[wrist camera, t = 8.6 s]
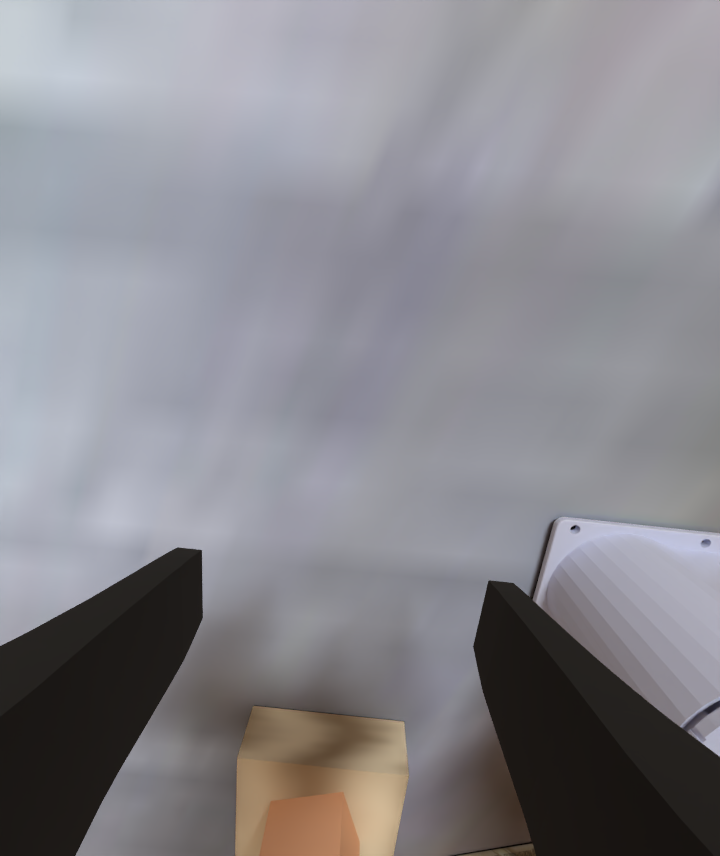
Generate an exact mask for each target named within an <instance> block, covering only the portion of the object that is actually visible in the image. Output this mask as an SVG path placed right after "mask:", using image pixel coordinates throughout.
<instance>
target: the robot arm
mask: <svg viewBox="0 0 720 856" xmlns="http://www.w3.org/2000/svg"><path fill="white" fill-rule="evenodd" d="M574 525H576V527H575V529H573V530H570V529H571V527H572V526H574ZM702 541H703V542H702ZM202 618H203V608H202V550H196V549H186V548H176V549H174V550H172V551H170V552H168V553H166V554H165V555H163V556H161V557H160V558H158V559H156V560H154V561H153V562H151V563H149V564H148V565H146V566H144V567H143V568H141V569H139V570H138V571H136V572H134V573H133V574H131V575H129V576H128V577H126V578H124V579H122V580H121V581H119V582H117V583H116V584H114V585H112V586H110V587H109V588H107V589H105V590H104V591H102V592H100V593H99V594H97V595H95V596H93V597H92V598H90V599H88V600H86V601H85V602H83V603H81V604H79V605H77V606H75V607H74V608H72V609H70V610H68V611H66V612H64V613H62V614H61V615H59V616H57V617H55V618H53V619H51V620H50V621H48V622H46V623H44V624H42V625H40V626H39V627H37V628H35V629H33V630H31V631H29V632H27V633H25V634H23V635H22V636H20V637H18V638H16V639H14V640H12V641H10V642H8V643H6V644H4V645H2V646H0V856H75V855H76V853H77V851H78V849H79V847H80V845H81V843H82V841H83V839H84V837H85V835H86V833H87V831H88V829H89V827H90V825H91V823H92V821H93V819H94V817H95V815H96V813H97V811H98V809H99V807H100V805H101V803H102V801H103V799H104V797H105V795H106V794H107V792H108V790H109V788H110V786H111V785H112V783H113V781H114V779H115V777H116V775H117V774H118V772H119V770H120V768H121V767H122V765H123V763H124V762H125V760H126V758H127V757H128V755H129V753H130V752H131V750H132V748H133V746H134V745H135V743H136V741H137V740H138V738H139V736H140V735H141V733H142V731H143V729H144V728H145V726H146V724H147V723H148V721H149V719H150V718H151V716H152V714H153V712H154V711H155V709H156V707H157V706H158V704H159V702H160V701H161V699H162V697H163V695H164V694H165V692H166V690H167V689H168V687H169V685H170V683H171V682H172V680H173V678H174V676H175V675H176V673H177V671H178V670H179V668H180V666H181V664H182V662H183V661H184V659H185V656H186V654H187V652H188V650H189V648H190V646H191V643H192V641H193V639H194V637H195V634H196V632H197V630H198V627H199V625H200V623H201V621H202ZM473 647H474V652H475V657H476V662H477V667H478V672H479V676H480V680H481V685H482V689H483V693H484V696H485V699H486V703H487V706H488V709H489V712H490V715H491V718H492V721H493V724H494V727H495V730H496V733H497V736H498V739H499V742H500V745H501V748H502V751H503V754H504V757H505V760H506V763H507V766H508V769H509V772H510V775H511V778H512V781H513V784H514V787H515V790H516V793H517V796H518V799H519V802H520V805H521V808H522V811H523V813H524V817H525V820H526V823H527V826H528V830H529V833H530V836H531V840H532V843H533V846H534V850H535V854H536V856H720V533H711V532H702V531H693V530H683V529H674V528H664V527H655V526H646V525H636V524H627V523H617V522H608V521H599V520H589V519H580V518H571V517H560V518H558V519H557V520H556V521H555V522H554V524H553V528H552V531H551V535H550V539H549V542H548V546H547V549H546V553H545V557H544V560H543V564H542V568H541V571H540V575H539V579H538V582H537V586H536V590H535V593H534V597H533V600H532V599H531V598H530V597H529V596H527V595H526V594H525V593H524V592H523V591H522V590H521V589H520V588H518V587H517V586H516V585H515V584H514V583H508V582H498V581H488V585H487V590H486V594H485V598H484V603H483V607H482V611H481V616H480V620H479V624H478V629H477V633H476V637H475V641H474V646H473Z"/></svg>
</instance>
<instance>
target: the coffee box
mask: <svg viewBox="0 0 720 856" xmlns="http://www.w3.org/2000/svg"><path fill="white" fill-rule="evenodd" d="M458 856H536V854H535V850H534V846H533V843H531V844H525V845H519V846H513V847H507V848H500V849H494V850H488V851H482V852H476V853H470V854H463V855H458Z"/></svg>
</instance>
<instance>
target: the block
mask: <svg viewBox="0 0 720 856" xmlns="http://www.w3.org/2000/svg"><path fill="white" fill-rule="evenodd" d="M259 856H360V841H359V838H358V835H357V832H356V829H355V826H354V823H353V820H352V817H351V814H350V811H349V808H348V805H347V802H346V799H345V796H344V793H343V792H338V793H330V794H322V795H314V796H306V797H298V798H291V799H283V800H275V801H271V802H270V807H269V811H268V816H267V821H266V826H265V831H264V835H263V840H262V845H261V850H260V854H259Z"/></svg>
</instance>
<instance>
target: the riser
mask: <svg viewBox="0 0 720 856" xmlns="http://www.w3.org/2000/svg"><path fill="white" fill-rule="evenodd" d="M408 778H409V771H408V760H407V749H406V738H405V726H404V721H394V720H384V719H375V718H365V717H356V716H346V715H336V714H327V713H317V712H308V711H298V710H289V709H279V708H269V707H260V706H253V708H252V712H251V715H250V718H249V721H248V725H247V728H246V731H245V734H244V738H243V741H242V744H241V747H240V750H239V754H238V757H237V793H236V843H235V856H259V854H260V850H261V845H262V840H263V835H264V831H265V826H266V821H267V816H268V811H269V807H270V802H271V801H275V800H283V799H291V798H298V797H306V796H314V795H322V794H330V793H338V792H343V793H344V796H345V799H346V802H347V805H348V808H349V811H350V814H351V817H352V820H353V823H354V826H355V829H356V832H357V835H358V838H359V841H360V856H393V854H394V849H395V844H396V839H397V834H398V829H399V823H400V818H401V813H402V808H403V803H404V798H405V793H406V788H407V783H408Z"/></svg>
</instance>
